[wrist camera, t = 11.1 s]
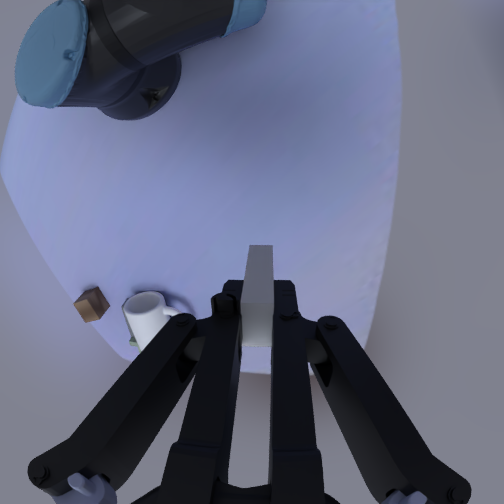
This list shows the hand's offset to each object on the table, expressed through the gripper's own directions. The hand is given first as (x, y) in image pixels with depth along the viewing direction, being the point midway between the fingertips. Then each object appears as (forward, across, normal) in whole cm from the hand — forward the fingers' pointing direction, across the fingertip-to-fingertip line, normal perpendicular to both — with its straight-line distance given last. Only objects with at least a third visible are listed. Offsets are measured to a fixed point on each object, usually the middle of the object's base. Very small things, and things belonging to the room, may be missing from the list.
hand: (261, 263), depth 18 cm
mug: (+25, -19, -24) cm, 39 cm away
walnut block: (+25, -36, -22) cm, 49 cm away
